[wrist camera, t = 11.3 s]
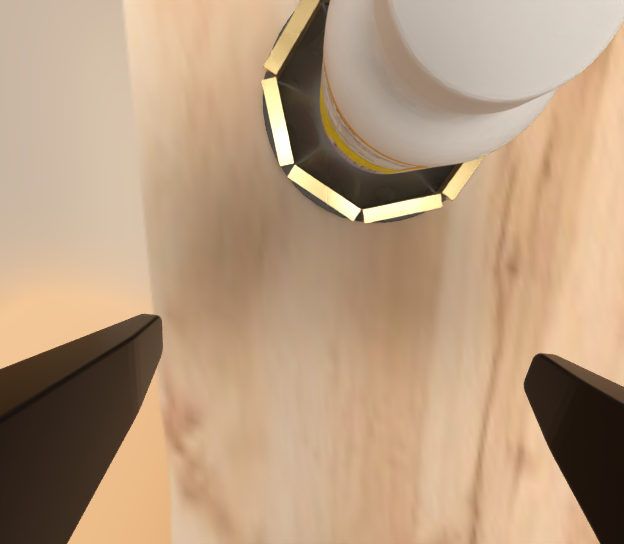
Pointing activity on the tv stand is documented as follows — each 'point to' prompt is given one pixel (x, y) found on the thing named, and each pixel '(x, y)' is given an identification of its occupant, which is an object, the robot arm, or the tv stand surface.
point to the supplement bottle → (449, 74)
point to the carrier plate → (316, 147)
